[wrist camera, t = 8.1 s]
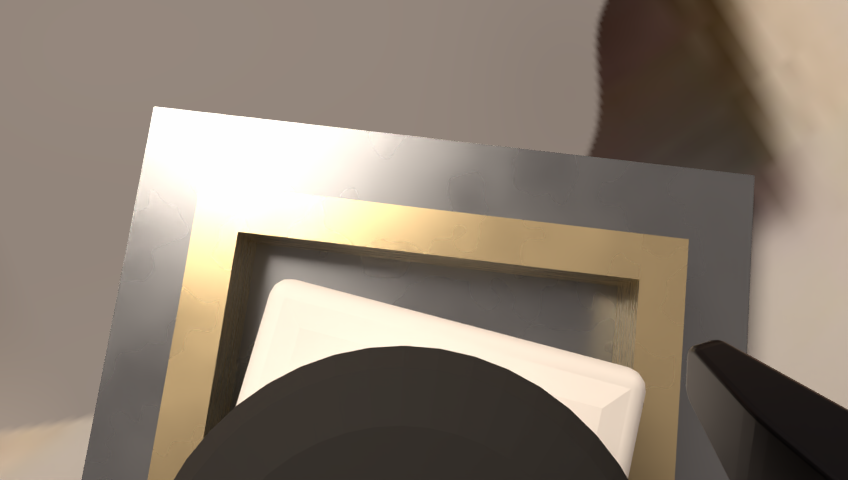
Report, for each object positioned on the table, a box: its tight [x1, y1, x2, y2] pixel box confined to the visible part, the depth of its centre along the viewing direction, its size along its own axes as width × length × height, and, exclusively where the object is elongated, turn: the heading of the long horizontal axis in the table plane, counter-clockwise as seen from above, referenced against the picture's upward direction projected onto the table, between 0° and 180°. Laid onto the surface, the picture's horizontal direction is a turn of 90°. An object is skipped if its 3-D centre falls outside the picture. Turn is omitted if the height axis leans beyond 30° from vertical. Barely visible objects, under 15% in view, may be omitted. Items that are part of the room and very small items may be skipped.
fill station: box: [82, 107, 754, 480], centre depth 18 cm, size 18×18×3 cm
